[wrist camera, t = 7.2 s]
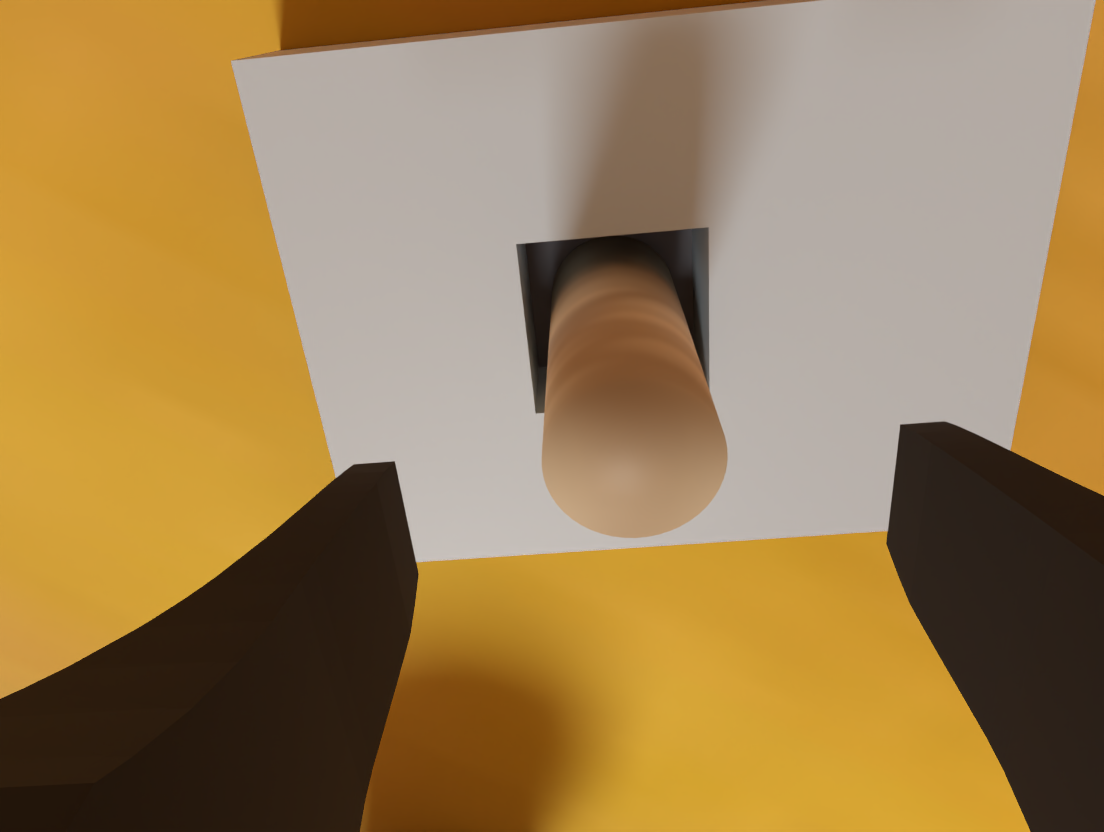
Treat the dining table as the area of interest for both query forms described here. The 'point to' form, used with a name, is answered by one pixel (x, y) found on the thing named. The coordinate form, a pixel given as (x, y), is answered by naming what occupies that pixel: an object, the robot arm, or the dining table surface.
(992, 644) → the robot arm
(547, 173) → the hole board
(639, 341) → the dowel
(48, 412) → the dining table surface
